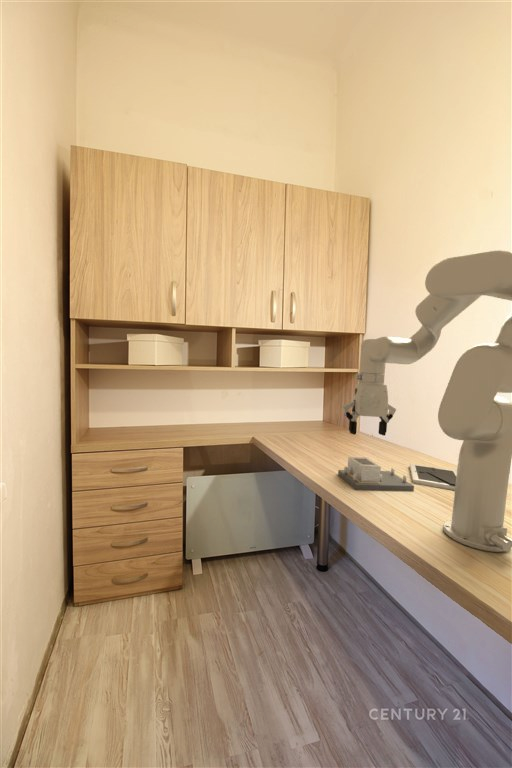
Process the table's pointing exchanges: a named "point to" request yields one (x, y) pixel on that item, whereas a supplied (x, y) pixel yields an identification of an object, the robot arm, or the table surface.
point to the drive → (364, 469)
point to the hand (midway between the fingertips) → (367, 434)
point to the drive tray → (386, 482)
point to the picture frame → (433, 476)
